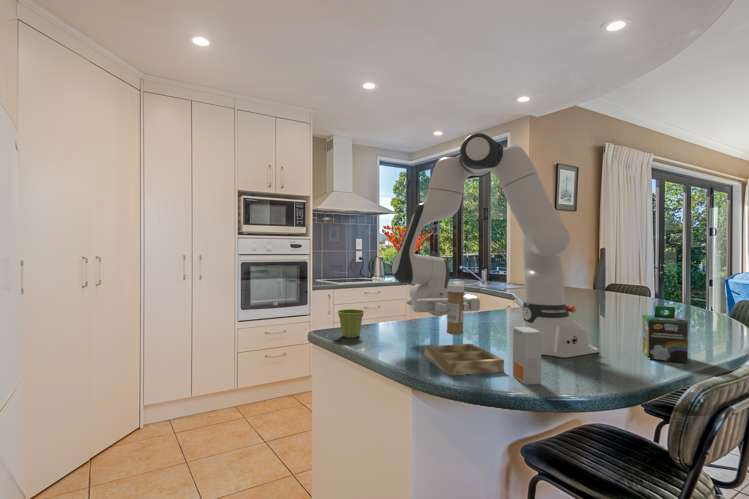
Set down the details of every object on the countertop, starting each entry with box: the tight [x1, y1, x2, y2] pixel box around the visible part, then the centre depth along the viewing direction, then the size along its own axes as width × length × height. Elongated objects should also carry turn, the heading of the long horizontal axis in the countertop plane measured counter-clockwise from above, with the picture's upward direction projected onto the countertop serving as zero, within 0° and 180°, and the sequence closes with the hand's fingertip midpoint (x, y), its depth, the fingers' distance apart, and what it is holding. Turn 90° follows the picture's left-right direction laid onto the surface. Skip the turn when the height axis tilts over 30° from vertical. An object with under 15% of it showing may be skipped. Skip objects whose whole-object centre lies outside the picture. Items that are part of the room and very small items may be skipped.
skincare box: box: [512, 326, 542, 386], centre depth 92 cm, size 6×4×12 cm
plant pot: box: [336, 308, 366, 339], centre depth 135 cm, size 9×9×9 cm
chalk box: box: [641, 305, 689, 364], centre depth 111 cm, size 9×9×15 cm
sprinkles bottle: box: [446, 283, 465, 336], centre depth 108 cm, size 5×5×13 cm
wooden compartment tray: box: [424, 343, 505, 377], centre depth 104 cm, size 15×17×3 cm
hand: (456, 308), depth 107 cm, fingers closed on sprinkles bottle, 4 cm apart
